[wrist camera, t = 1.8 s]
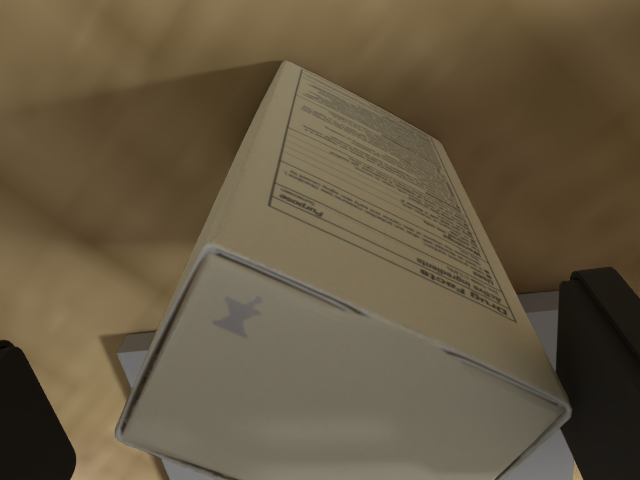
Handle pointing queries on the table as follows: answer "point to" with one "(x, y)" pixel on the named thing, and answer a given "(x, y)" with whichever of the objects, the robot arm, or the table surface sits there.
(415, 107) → the table surface
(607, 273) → the robot arm
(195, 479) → the slate board
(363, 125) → the skincare box
